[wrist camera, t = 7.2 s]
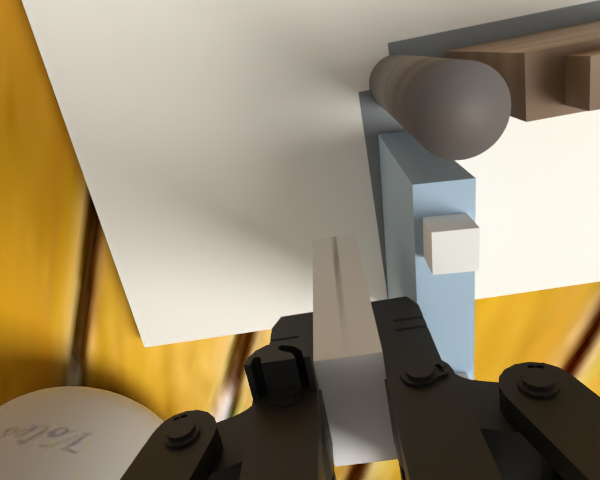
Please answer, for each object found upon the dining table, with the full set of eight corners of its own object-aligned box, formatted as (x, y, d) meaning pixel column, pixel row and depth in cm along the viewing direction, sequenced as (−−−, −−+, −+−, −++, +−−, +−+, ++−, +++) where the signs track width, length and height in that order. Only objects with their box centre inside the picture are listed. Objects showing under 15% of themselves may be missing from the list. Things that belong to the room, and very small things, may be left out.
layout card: (7, -66, 16) (-4, -70, 16) (678, -229, 14) (693, -241, 14) (149, 339, 22) (144, 347, 21) (644, 266, 20) (654, 273, 19)
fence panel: (388, 305, 20) (429, 457, 13) (378, 134, 18) (421, 197, 10) (423, 302, 20) (484, 454, 13) (417, 129, 17) (490, 190, 10)
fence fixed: (365, 60, 17) (406, 71, 9) (648, 3, 16) (982, -42, 8) (372, 112, 17) (416, 167, 9) (645, 61, 17) (950, 74, 9)
